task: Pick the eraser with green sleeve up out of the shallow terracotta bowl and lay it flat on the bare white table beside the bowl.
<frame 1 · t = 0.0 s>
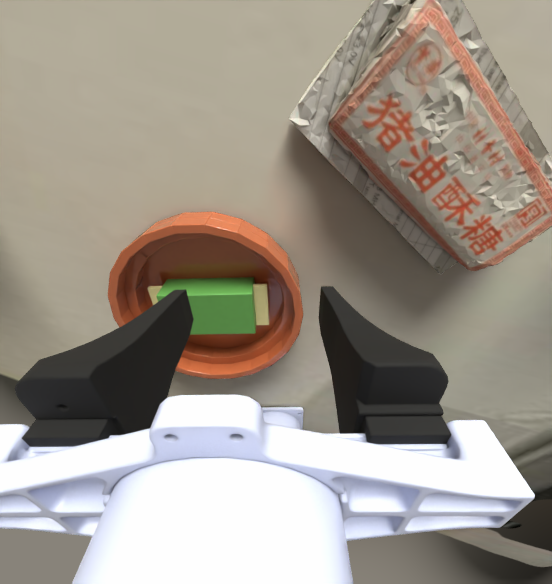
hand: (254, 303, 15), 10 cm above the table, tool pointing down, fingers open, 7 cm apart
bowl: (215, 294, 26), on the table
packaged product: (424, 150, 20), on the table
eraser with green sleeve: (214, 297, 26), point 1 cm above the table, touching bowl
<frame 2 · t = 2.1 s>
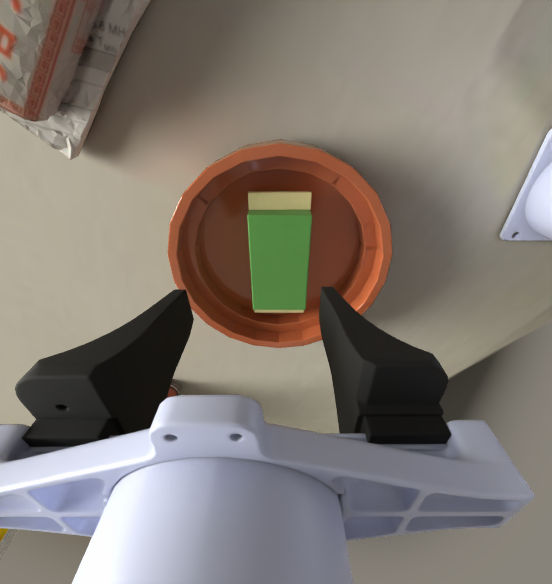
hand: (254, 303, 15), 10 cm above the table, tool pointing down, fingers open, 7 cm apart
bowl: (279, 249, 23), on the table
beer can: (41, 456, 43), on the table
eraser with green sleeve: (279, 252, 23), point 1 cm above the table, touching bowl
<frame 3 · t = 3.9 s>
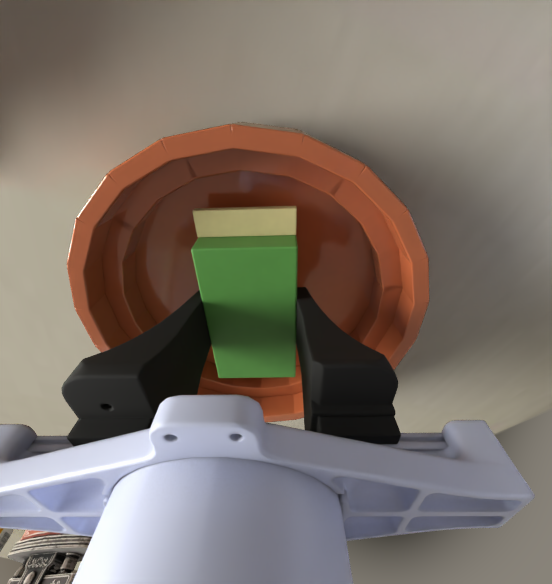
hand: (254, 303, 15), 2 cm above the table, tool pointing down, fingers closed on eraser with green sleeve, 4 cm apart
bowl: (256, 286, 16), on the table
eraser with green sleeve: (255, 292, 16), point 1 cm above the table, touching bowl, gripper
lighter: (108, 451, 27), on the table
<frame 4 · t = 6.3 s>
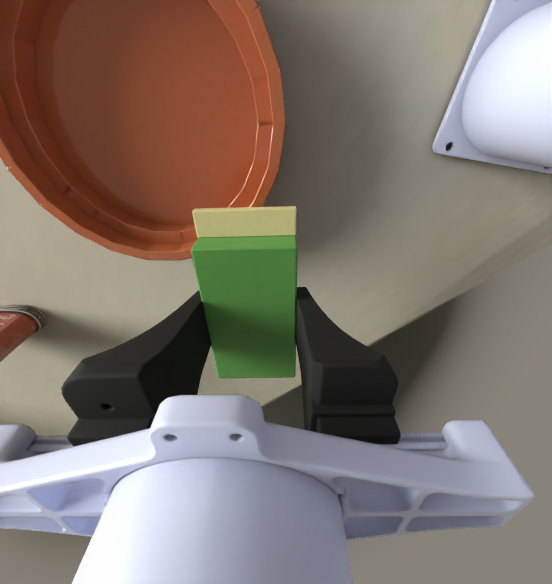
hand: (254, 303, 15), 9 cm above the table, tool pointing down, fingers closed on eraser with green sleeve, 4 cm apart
bowl: (155, 121, 17), on the table
eraser with green sleeve: (255, 292, 16), point 8 cm above the table, touching gripper
lighter: (7, 317, 27), on the table
when the fingers open (1 cm above the table, at t = 9.0 s): eraser with green sleeve stays where it is, on the table.
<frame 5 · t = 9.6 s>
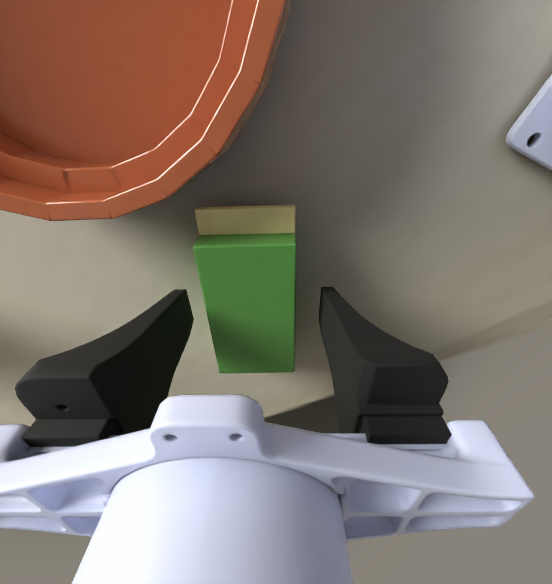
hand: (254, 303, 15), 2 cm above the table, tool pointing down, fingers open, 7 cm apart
eraser with green sleeve: (255, 289, 16), on the table
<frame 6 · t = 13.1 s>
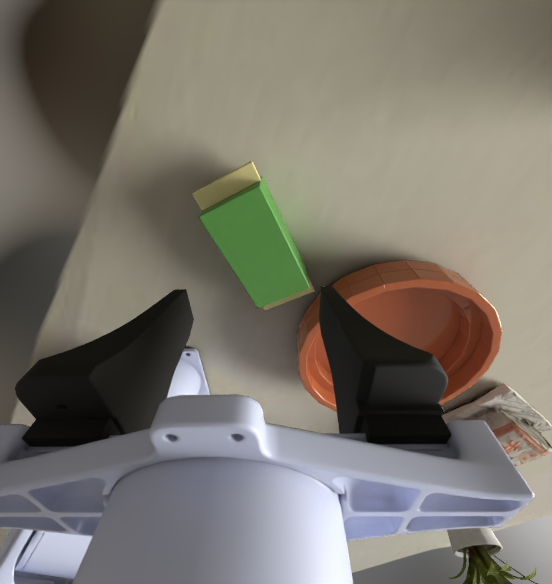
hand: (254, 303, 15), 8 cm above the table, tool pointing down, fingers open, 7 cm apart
house plant: (462, 502, 47), on the table
bowl: (382, 334, 26), on the table
packaged product: (452, 429, 35), on the table
eraser with green sleeve: (260, 239, 21), on the table
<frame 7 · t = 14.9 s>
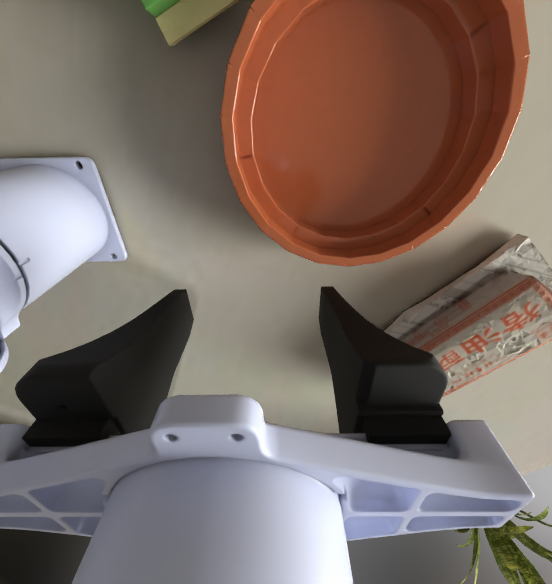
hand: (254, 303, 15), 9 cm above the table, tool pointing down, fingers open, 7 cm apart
house plant: (458, 443, 40), on the table
bowl: (352, 133, 18), on the table
packaged product: (447, 323, 28), on the table
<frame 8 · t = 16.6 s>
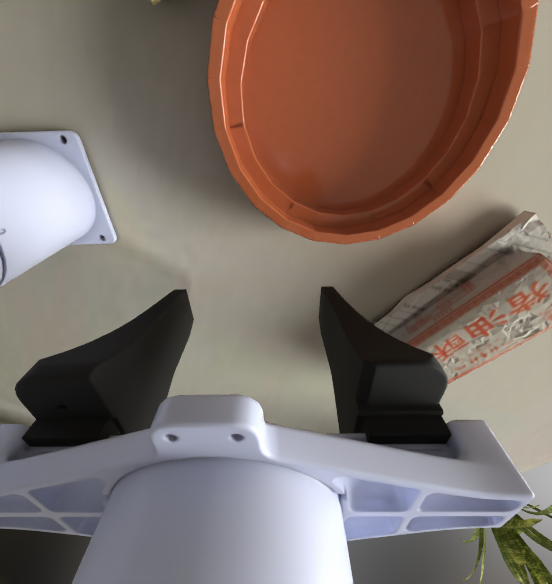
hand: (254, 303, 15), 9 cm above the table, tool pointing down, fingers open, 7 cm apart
house plant: (462, 436, 39), on the table
bowl: (348, 102, 17), on the table
packaged product: (450, 309, 27), on the table
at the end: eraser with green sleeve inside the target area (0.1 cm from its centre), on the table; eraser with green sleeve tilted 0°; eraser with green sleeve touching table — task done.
